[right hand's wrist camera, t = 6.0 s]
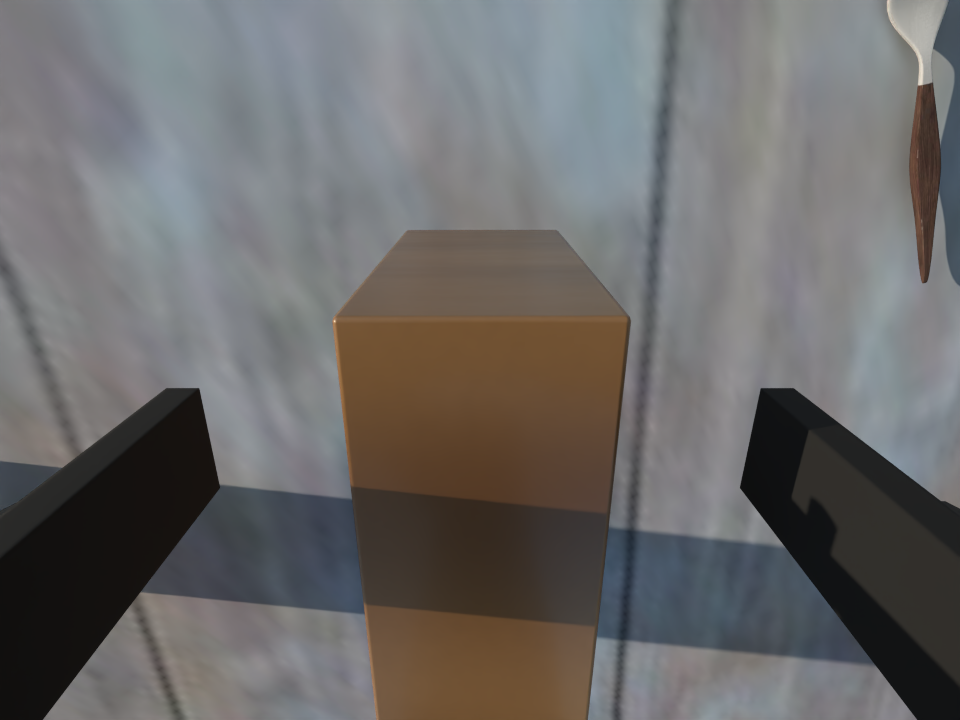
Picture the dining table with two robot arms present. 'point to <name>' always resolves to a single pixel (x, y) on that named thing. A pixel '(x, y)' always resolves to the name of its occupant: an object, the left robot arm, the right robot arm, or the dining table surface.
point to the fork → (922, 117)
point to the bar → (481, 470)
